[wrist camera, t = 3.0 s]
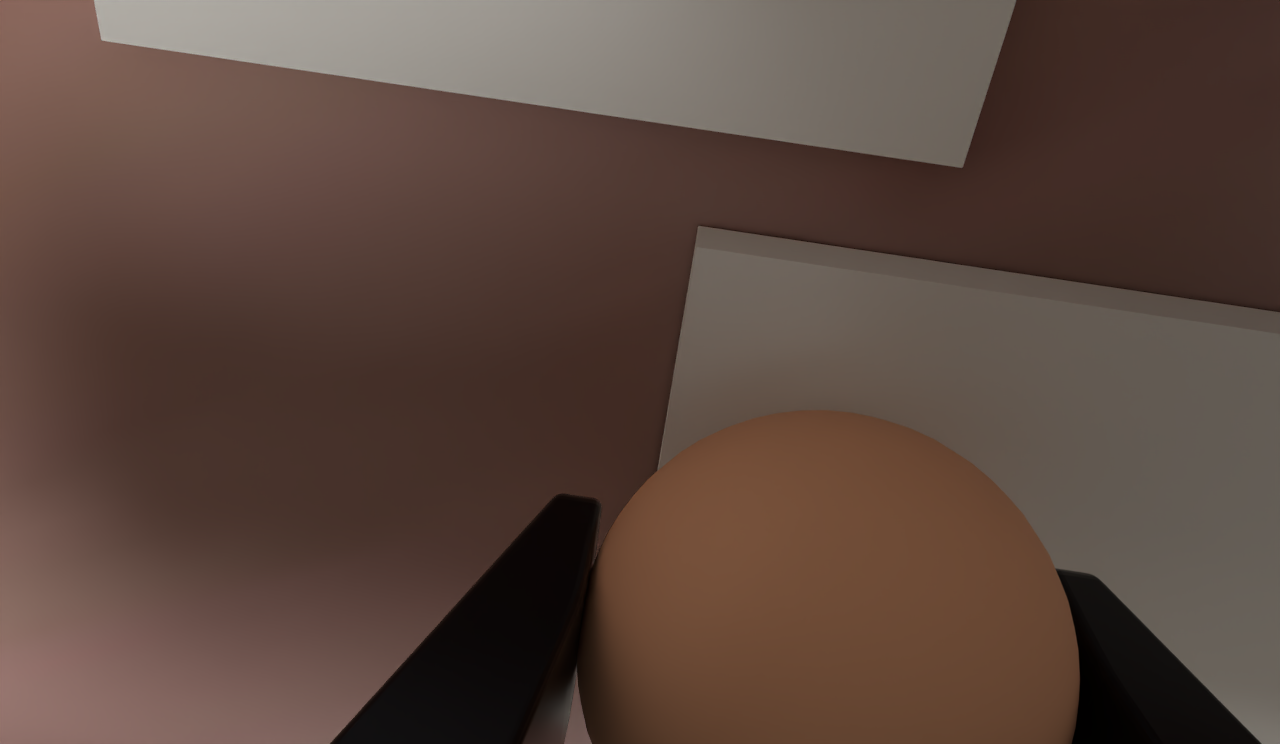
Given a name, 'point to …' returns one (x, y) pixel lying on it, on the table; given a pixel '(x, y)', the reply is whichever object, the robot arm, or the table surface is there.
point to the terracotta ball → (825, 598)
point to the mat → (1031, 418)
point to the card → (636, 58)
